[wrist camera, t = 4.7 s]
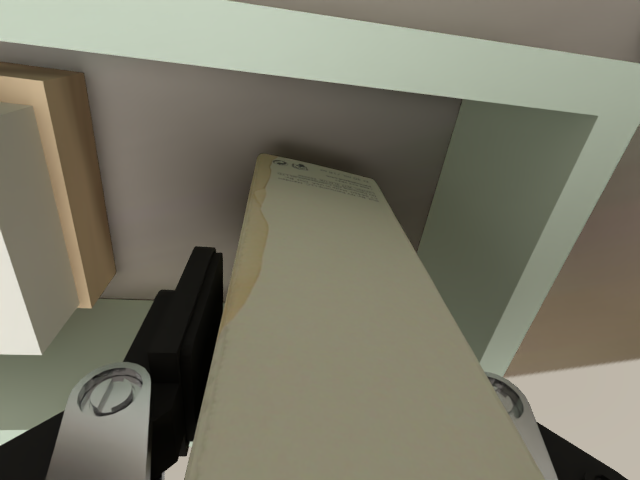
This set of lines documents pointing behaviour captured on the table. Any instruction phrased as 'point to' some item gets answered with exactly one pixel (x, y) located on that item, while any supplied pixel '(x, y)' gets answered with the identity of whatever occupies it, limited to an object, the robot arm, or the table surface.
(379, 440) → the skincare box
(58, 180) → the offcut lower
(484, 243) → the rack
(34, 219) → the offcut upper
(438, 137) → the table surface
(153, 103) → the table surface
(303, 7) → the table surface
